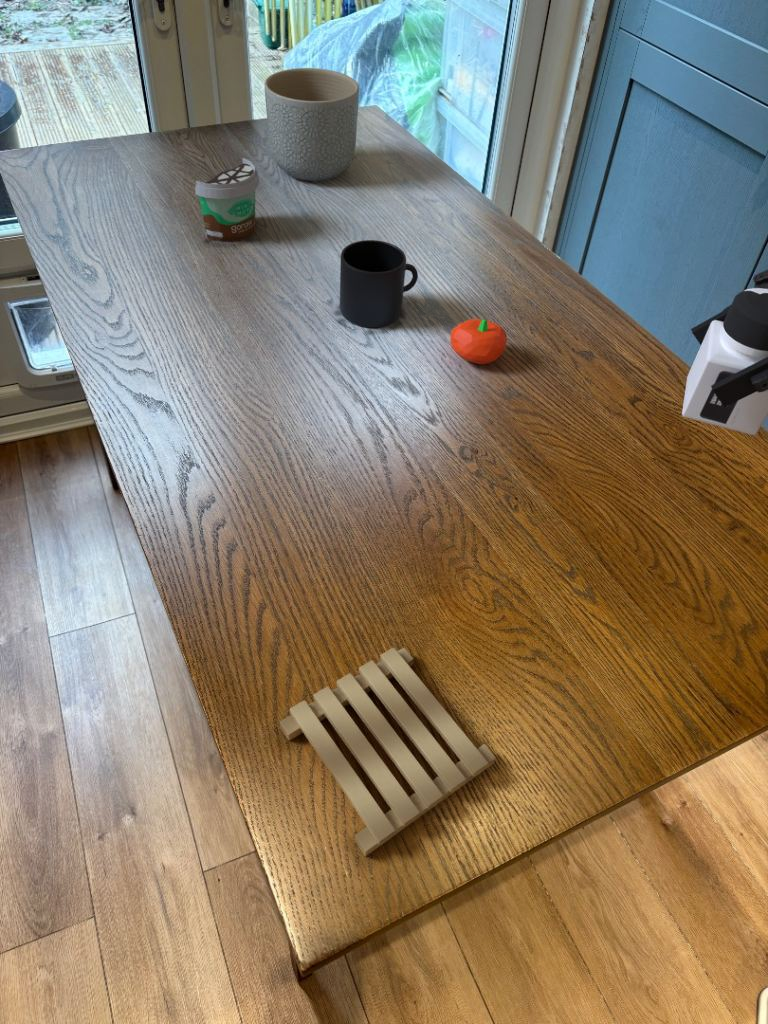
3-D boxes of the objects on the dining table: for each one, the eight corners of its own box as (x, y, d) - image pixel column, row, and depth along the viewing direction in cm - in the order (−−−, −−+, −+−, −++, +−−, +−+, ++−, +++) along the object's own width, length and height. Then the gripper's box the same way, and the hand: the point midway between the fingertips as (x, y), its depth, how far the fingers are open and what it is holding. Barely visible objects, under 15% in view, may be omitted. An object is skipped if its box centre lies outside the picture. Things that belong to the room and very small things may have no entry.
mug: (426, 320, 113) (433, 265, 106) (351, 333, 110) (353, 277, 103) (403, 287, 119) (408, 234, 112) (331, 298, 116) (332, 244, 109)
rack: (495, 765, 67) (499, 755, 65) (366, 859, 61) (367, 850, 59) (402, 651, 74) (403, 640, 73) (278, 725, 68) (277, 715, 67)
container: (755, 437, 78) (815, 331, 68) (680, 417, 80) (729, 311, 70) (757, 394, 83) (813, 290, 73) (686, 377, 85) (732, 272, 75)
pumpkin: (451, 338, 110) (457, 299, 106) (505, 347, 110) (513, 309, 105) (444, 366, 106) (449, 328, 101) (500, 376, 105) (508, 337, 100)
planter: (264, 187, 140) (259, 98, 128) (273, 149, 151) (269, 64, 140) (355, 192, 140) (358, 104, 129) (357, 154, 152) (359, 70, 140)
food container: (229, 253, 123) (223, 193, 116) (201, 241, 125) (193, 181, 118) (276, 225, 130) (274, 167, 123) (249, 214, 132) (245, 156, 125)
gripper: (1027, 336, 60) (748, 459, 72) (917, 211, 75) (701, 331, 87) (1005, 269, 57) (714, 412, 68) (894, 152, 71) (671, 285, 83)
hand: (707, 366), depth 78 cm, fingers closed on container, 9 cm apart
